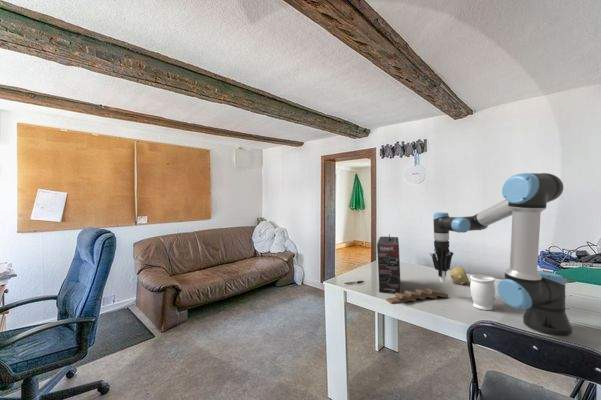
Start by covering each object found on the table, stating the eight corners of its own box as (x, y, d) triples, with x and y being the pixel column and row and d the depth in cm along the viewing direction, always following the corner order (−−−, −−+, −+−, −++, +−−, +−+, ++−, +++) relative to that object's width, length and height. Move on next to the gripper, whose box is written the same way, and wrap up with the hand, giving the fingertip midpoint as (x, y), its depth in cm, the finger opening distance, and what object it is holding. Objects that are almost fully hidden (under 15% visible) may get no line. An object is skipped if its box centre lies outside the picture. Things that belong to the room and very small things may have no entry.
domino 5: (442, 291, 153) (426, 288, 151) (448, 294, 148) (432, 291, 146) (441, 294, 153) (425, 291, 151) (447, 298, 148) (431, 294, 146)
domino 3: (419, 293, 151) (405, 290, 148) (426, 296, 146) (411, 293, 144) (418, 296, 151) (404, 293, 148) (425, 299, 146) (410, 296, 144)
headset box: (400, 294, 155) (399, 237, 154) (377, 292, 159) (376, 237, 159) (400, 281, 178) (399, 231, 178) (380, 280, 182) (379, 231, 182)
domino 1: (402, 296, 149) (386, 298, 147) (407, 299, 144) (391, 301, 142) (402, 299, 149) (386, 301, 147) (408, 302, 144) (391, 305, 142)
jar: (472, 301, 142) (471, 273, 142) (496, 305, 136) (495, 276, 135) (469, 308, 134) (468, 278, 134) (494, 313, 127) (494, 281, 127)
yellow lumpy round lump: (468, 290, 167) (474, 277, 171) (462, 279, 162) (468, 265, 166) (451, 286, 175) (457, 273, 179) (445, 275, 170) (452, 262, 174)
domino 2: (409, 294, 149) (395, 292, 146) (416, 297, 145) (402, 295, 141) (408, 297, 149) (394, 295, 146) (415, 301, 145) (401, 299, 141)
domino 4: (432, 292, 152) (416, 288, 151) (437, 295, 147) (421, 291, 146) (431, 295, 152) (415, 291, 151) (436, 298, 147) (420, 295, 146)
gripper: (447, 238, 155) (448, 279, 155) (426, 239, 153) (427, 281, 153) (456, 240, 147) (457, 283, 147) (435, 241, 145) (436, 285, 145)
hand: (442, 282), depth 150 cm, fingers closed
